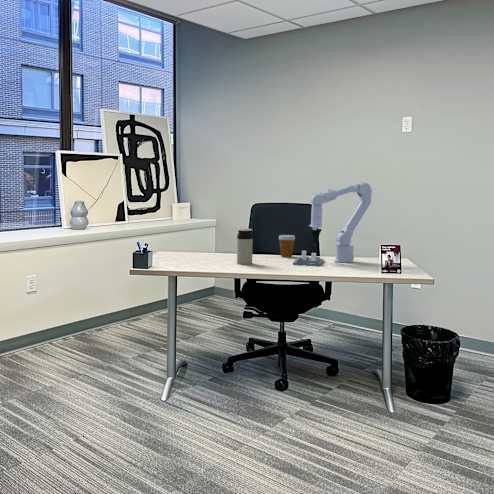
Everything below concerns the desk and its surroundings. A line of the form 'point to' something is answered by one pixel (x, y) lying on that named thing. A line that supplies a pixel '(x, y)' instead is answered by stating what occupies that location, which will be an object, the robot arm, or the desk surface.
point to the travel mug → (244, 246)
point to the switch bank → (308, 261)
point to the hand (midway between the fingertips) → (315, 242)
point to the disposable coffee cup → (286, 245)
